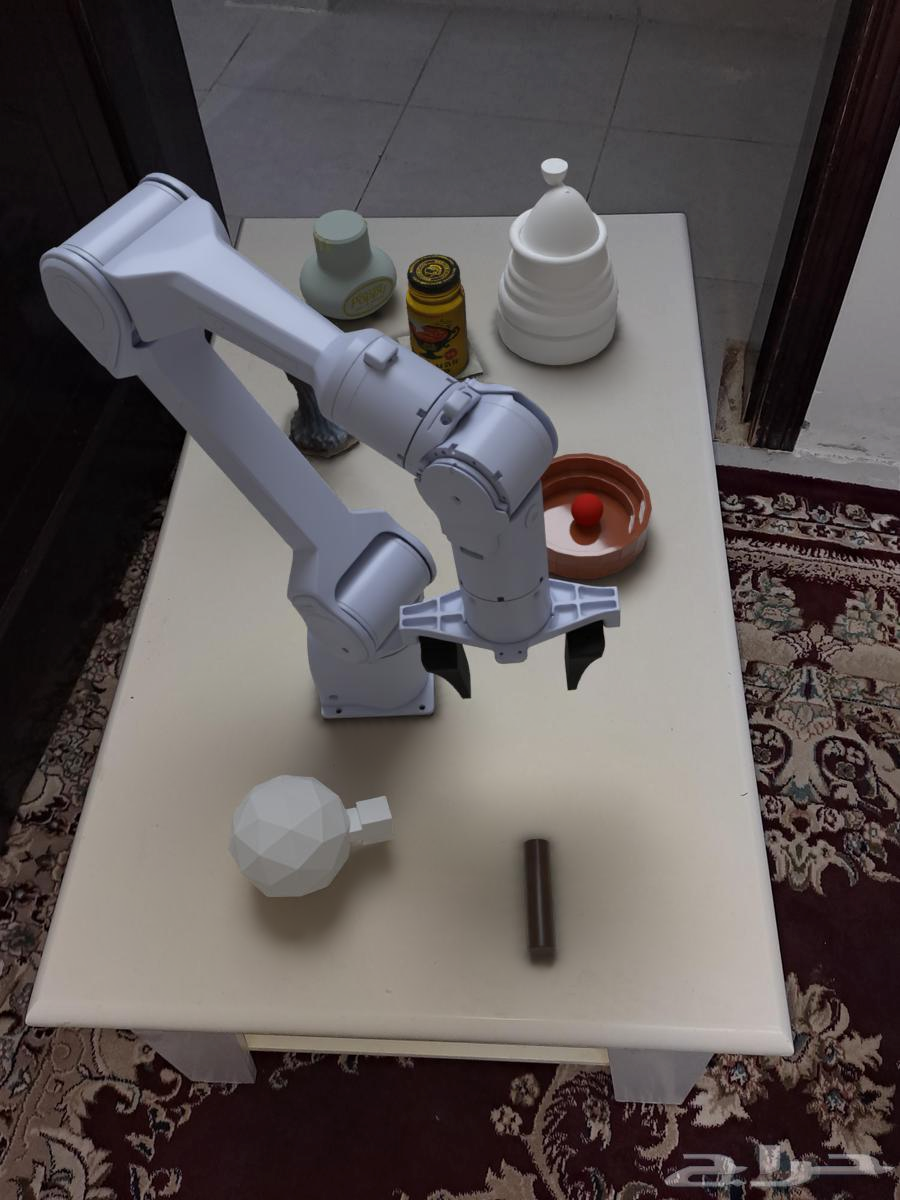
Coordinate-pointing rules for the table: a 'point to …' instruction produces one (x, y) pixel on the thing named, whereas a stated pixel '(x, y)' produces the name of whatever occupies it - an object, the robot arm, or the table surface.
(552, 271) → the honey pot
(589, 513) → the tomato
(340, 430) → the antler
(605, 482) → the bowl
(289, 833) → the perfume bottle
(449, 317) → the condiment
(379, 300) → the air freshener
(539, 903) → the stick
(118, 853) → the table surface
